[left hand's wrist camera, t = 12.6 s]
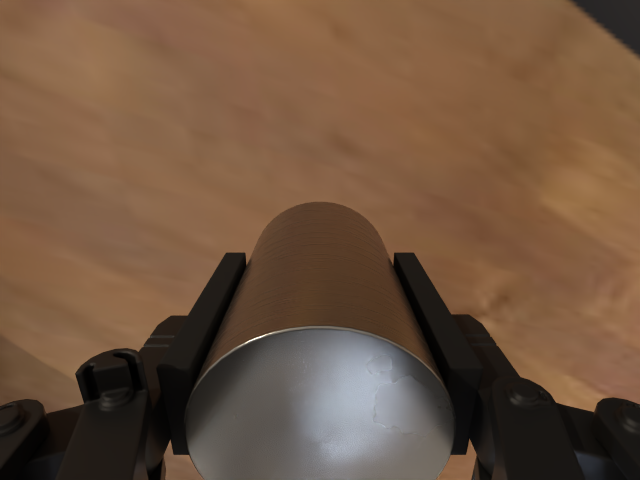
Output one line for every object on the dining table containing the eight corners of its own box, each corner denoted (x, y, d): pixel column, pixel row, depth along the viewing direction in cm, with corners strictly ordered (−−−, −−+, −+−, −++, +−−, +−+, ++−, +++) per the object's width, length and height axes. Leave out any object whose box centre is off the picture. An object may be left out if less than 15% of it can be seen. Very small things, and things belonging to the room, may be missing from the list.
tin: (253, 197, 15) (171, 318, 7) (394, 205, 15) (484, 335, 7) (253, 318, 17) (192, 523, 9) (377, 325, 17) (430, 533, 9)
